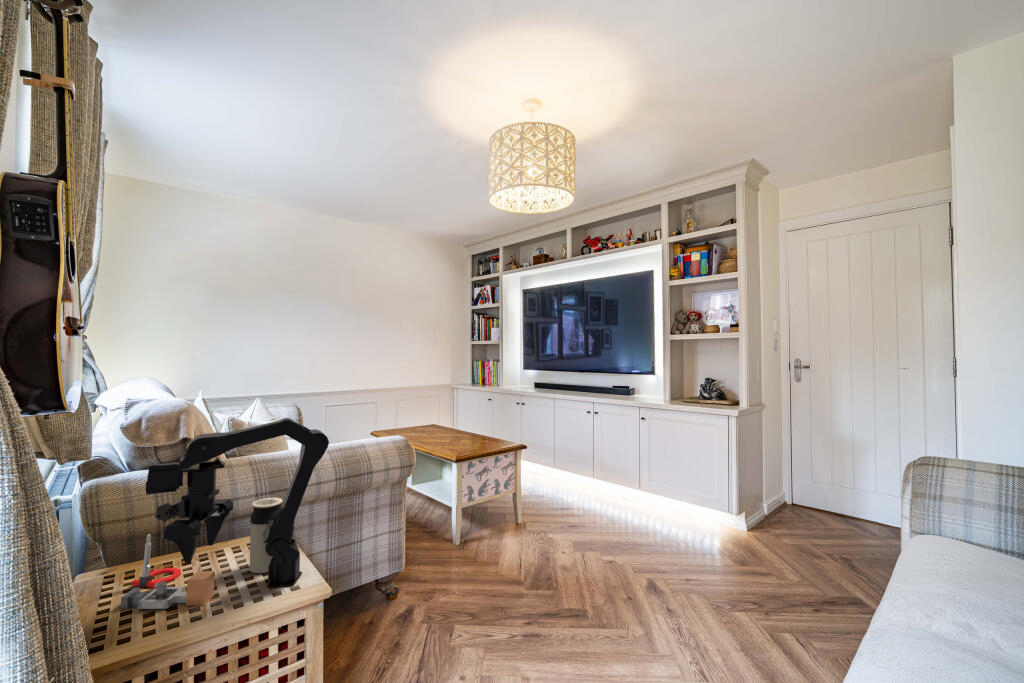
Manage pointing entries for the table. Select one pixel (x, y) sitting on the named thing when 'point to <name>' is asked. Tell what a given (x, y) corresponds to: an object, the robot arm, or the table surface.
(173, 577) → the tow hook
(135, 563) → the table surface
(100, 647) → the table surface
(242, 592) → the table surface
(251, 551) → the travel mug
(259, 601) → the table surface
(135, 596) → the hook
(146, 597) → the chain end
